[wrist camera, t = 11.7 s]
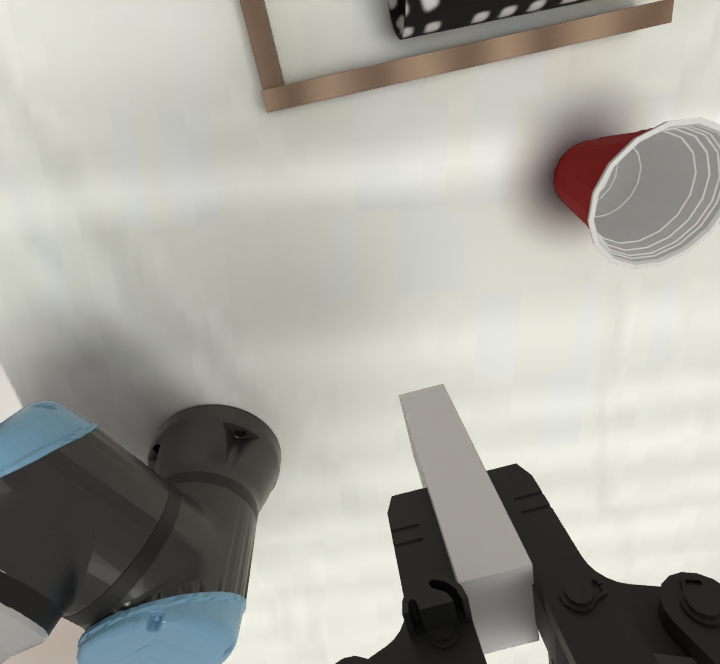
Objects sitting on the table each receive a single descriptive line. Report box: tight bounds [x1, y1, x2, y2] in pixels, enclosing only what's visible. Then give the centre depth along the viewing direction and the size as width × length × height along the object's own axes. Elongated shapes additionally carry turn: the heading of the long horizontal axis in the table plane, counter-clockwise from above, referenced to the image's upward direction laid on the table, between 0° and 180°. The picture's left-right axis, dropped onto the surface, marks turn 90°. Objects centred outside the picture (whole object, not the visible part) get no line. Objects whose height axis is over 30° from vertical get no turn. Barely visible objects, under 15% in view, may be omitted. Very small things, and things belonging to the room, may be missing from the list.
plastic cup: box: [554, 117, 720, 269], centre depth 37 cm, size 11×11×12 cm
